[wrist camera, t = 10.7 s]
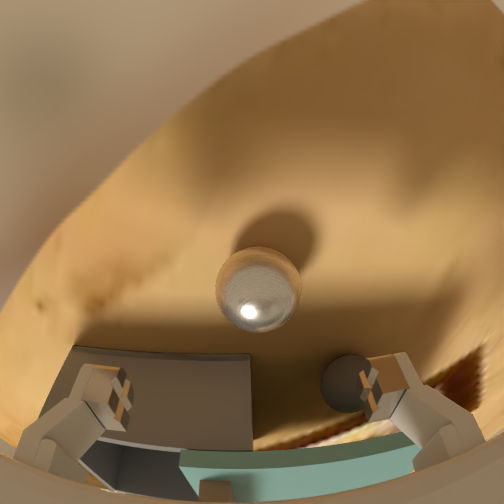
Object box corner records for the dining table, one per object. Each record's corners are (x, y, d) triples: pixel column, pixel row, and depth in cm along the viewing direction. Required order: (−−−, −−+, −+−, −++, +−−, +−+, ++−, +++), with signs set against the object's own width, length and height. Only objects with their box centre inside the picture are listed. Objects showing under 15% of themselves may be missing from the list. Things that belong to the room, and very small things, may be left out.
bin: (249, 353, 19) (252, 450, 13) (253, 440, 25) (254, 505, 19) (73, 345, 19) (37, 420, 13) (124, 432, 25) (111, 490, 19)
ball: (376, 339, 19) (395, 384, 15) (363, 376, 21) (377, 418, 17) (319, 345, 19) (331, 393, 15) (312, 382, 21) (321, 427, 17)
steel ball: (297, 231, 15) (312, 275, 12) (293, 297, 17) (303, 348, 14) (215, 233, 15) (206, 278, 12) (221, 298, 17) (216, 351, 13)
